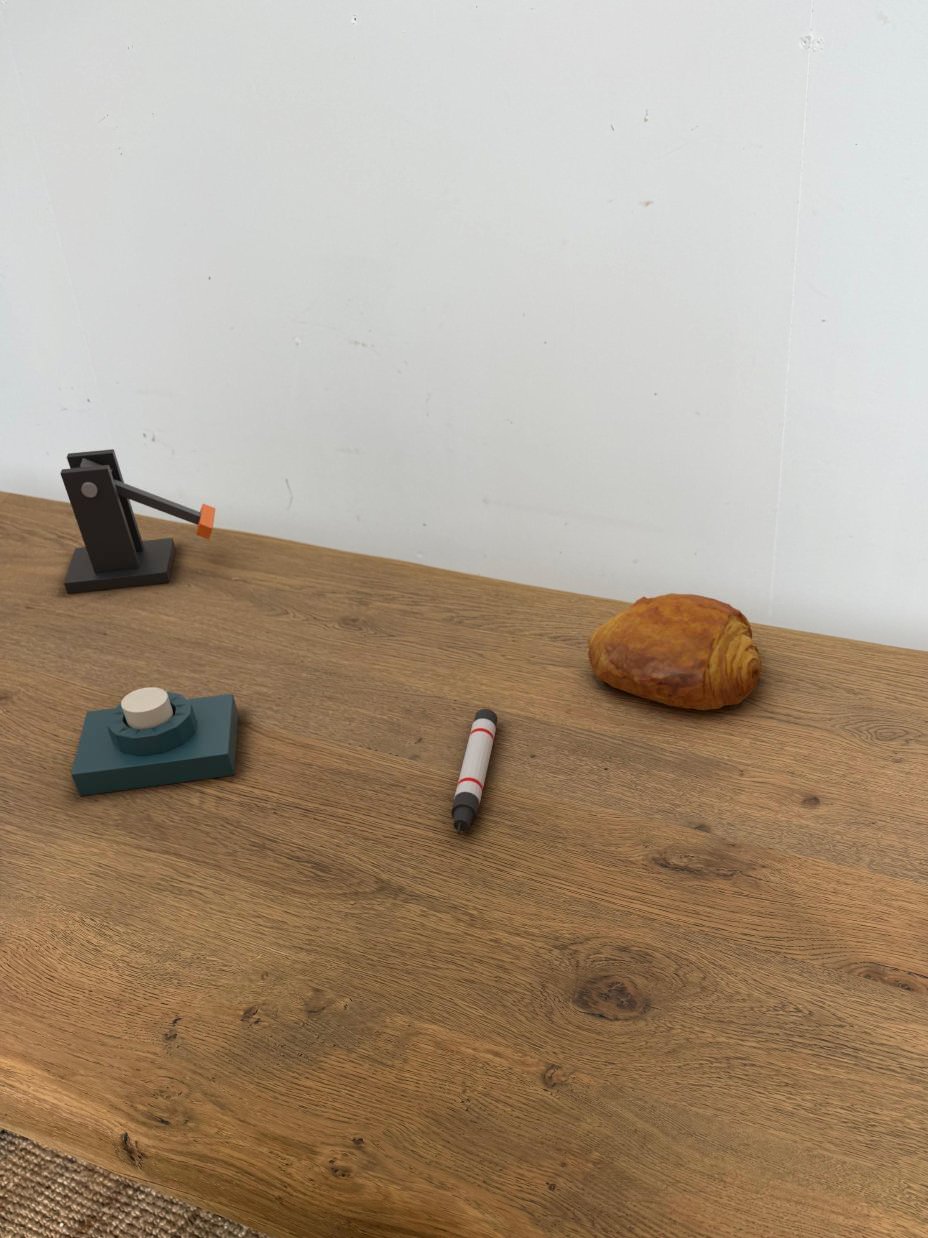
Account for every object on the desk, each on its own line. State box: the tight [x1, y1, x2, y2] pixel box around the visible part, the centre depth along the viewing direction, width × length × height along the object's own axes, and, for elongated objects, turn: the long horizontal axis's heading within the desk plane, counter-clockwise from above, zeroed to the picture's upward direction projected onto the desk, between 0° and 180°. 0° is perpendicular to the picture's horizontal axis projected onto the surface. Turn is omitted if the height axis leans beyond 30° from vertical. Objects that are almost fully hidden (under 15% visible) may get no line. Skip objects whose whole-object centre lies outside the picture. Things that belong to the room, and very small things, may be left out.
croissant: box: [587, 592, 762, 711], centre depth 104 cm, size 14×16×8 cm
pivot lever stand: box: [59, 448, 176, 595], centre depth 119 cm, size 10×8×12 cm
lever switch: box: [79, 458, 216, 540], centre depth 119 cm, size 13×5×2 cm
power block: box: [70, 691, 240, 797], centre depth 97 cm, size 12×9×4 cm
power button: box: [120, 686, 173, 729], centre depth 95 cm, size 4×4×2 cm
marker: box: [451, 708, 498, 836], centre depth 94 cm, size 15×2×2 cm, turn 178°
